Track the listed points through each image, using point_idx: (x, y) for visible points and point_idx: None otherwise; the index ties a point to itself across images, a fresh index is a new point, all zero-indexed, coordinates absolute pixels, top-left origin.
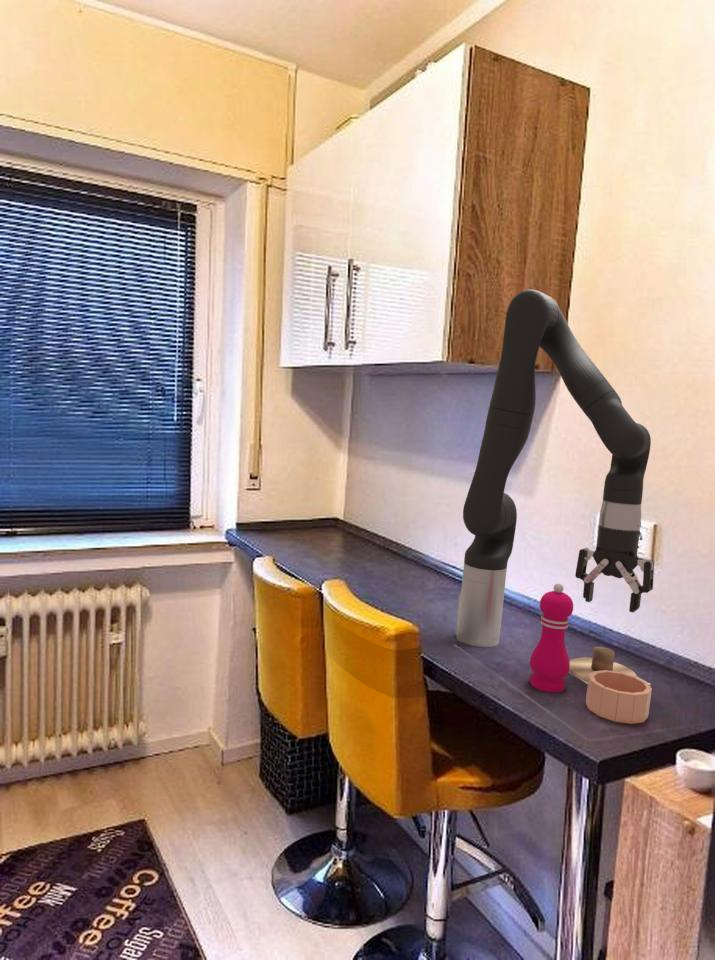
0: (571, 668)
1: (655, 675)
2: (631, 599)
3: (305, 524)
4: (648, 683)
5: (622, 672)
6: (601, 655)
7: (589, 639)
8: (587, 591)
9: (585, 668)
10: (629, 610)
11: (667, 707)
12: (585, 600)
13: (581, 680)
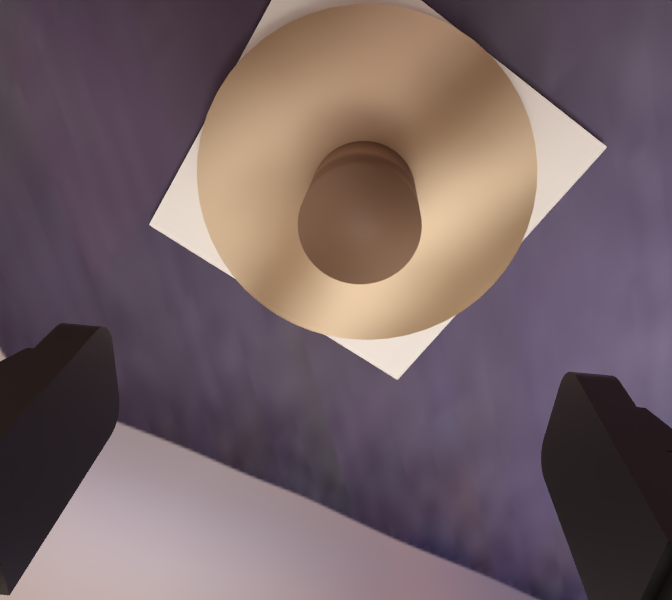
0: (504, 86)
1: (184, 363)
2: (13, 405)
3: None
4: (160, 226)
5: (272, 232)
6: (358, 162)
7: (500, 560)
8: (649, 450)
9: (437, 147)
10: (99, 329)
11: (9, 14)
12: (612, 376)
13: (427, 6)
